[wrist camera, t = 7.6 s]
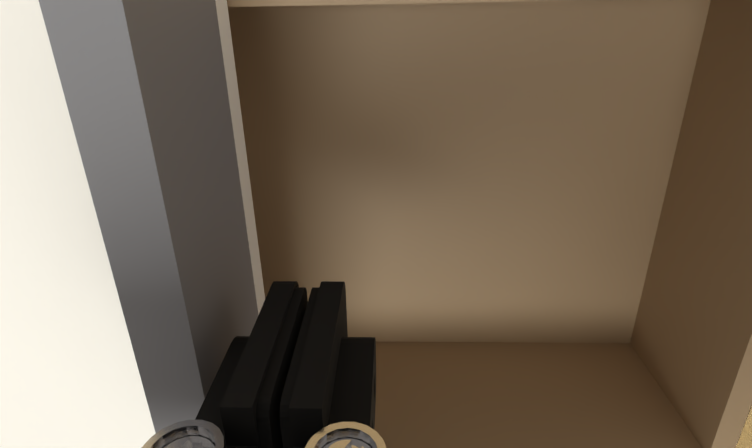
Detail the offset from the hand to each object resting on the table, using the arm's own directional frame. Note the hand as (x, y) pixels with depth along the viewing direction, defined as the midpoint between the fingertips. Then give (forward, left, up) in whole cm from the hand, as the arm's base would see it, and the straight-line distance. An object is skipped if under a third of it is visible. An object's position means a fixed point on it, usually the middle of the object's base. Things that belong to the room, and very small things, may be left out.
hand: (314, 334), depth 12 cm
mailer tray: (-2, 0, -10) cm, 10 cm away
